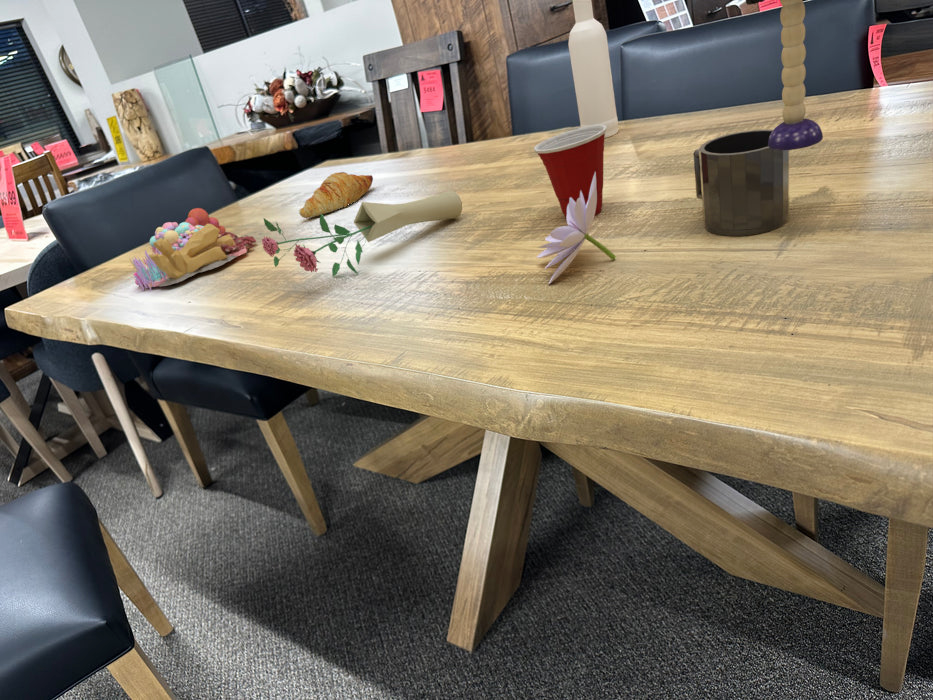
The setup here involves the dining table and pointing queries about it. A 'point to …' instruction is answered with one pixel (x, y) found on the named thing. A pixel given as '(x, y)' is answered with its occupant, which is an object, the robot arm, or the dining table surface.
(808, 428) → the dining table surface
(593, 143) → the plastic cup
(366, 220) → the flower vase
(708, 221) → the mug
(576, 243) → the water lily
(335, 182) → the croissant
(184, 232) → the pastel sphere sculpture
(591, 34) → the bottle
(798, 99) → the toy lamp
